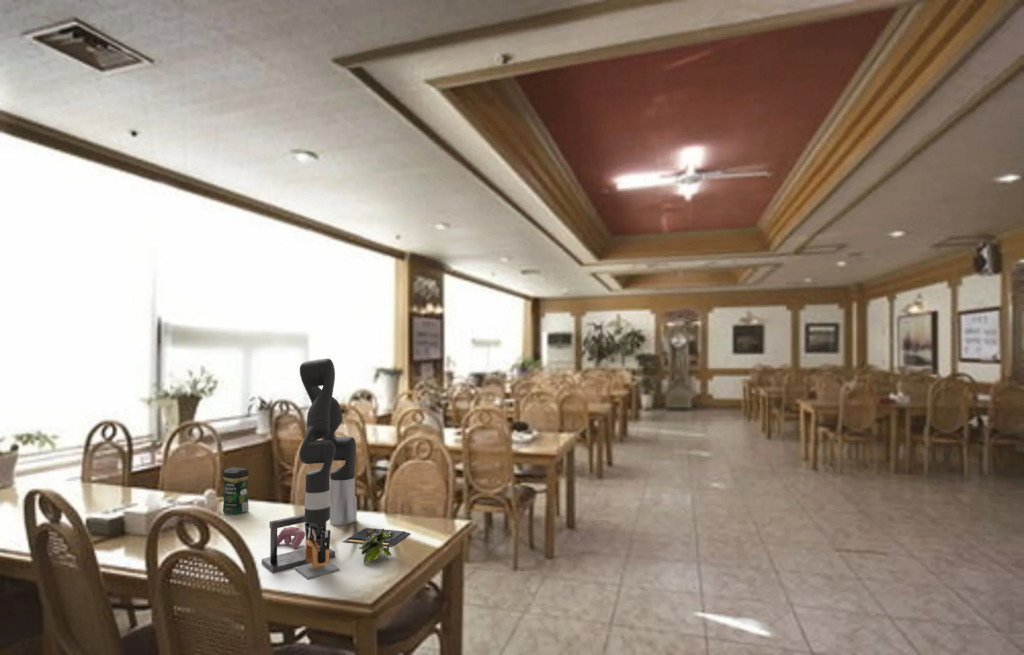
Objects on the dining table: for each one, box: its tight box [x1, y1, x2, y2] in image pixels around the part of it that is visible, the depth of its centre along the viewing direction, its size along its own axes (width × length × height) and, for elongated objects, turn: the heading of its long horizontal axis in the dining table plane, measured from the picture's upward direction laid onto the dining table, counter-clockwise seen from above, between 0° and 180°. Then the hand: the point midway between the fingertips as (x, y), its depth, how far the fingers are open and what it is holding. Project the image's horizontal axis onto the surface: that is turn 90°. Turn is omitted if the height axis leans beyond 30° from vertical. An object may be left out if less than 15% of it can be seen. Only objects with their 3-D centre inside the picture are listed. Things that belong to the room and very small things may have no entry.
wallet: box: [342, 527, 411, 548], centre depth 205 cm, size 20×2×15 cm
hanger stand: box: [261, 513, 336, 574], centre depth 184 cm, size 10×20×14 cm, turn 132°
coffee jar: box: [222, 466, 250, 515], centre depth 238 cm, size 10×8×19 cm
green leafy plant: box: [358, 528, 394, 565], centre depth 185 cm, size 11×11×12 cm
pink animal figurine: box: [277, 526, 306, 550], centre depth 198 cm, size 10×5×7 cm, turn 68°
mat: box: [294, 561, 340, 580], centre depth 176 cm, size 10×10×1 cm
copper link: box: [304, 538, 330, 568], centre depth 176 cm, size 6×5×7 cm
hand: (317, 559), depth 176 cm, fingers closed on copper link, 6 cm apart
